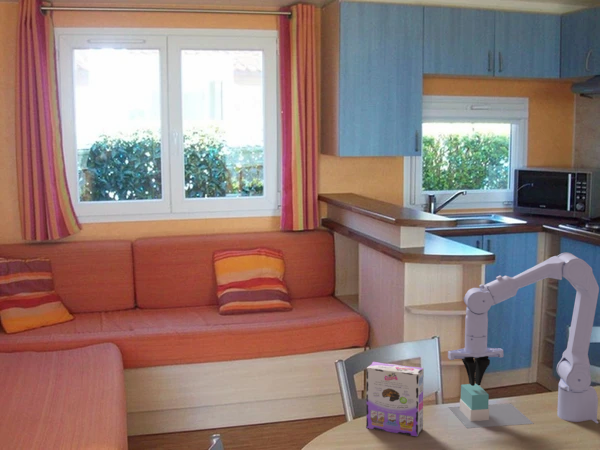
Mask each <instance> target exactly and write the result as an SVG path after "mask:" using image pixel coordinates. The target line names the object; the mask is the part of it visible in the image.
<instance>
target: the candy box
mask: <svg viewBox="0 0 600 450" xmlns="http://www.w3.org/2000/svg"><path fill="white" fill-rule="evenodd" d="M365 371H366V372H365V374H366V377H365V378H366V379H365V380H366V382H365V383H366V385H365V386H366V387H365V389H366V390H365V391H366V395H365V396H366V397H365V398H366V402H365V403H366V412H365V413H366V420H365V421H366V426H365V428H366V429H368V428H369V429H370V430H374V429H375V430H376V431H381V432H387V433H391V434H392V433H393V434H394V433H395V434H401V435H404V436H405V435H407V436H413V437H418V436H419V434H420V433H421V432H422V430H423V429H424V367H417V366H409V365H402V364H401V365H400V364H395V363H393V364H392V363H385V362H378V361H372V362H371V364H369V365H368V366H367V367H366V369H365Z"/></svg>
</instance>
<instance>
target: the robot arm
mask: <svg viewBox="0 0 600 450" xmlns="http://www.w3.org/2000/svg"><path fill="white" fill-rule="evenodd" d="M548 278H550V279H555V280H560V281H561V280H563V279H566V280H567V281H568V282H569V284H570V285H571V286H572V287H573V288H574V290H575V291H576V292H575V293H576V294H575V300H574V305H573V310H572V317H571V322H570V328H569V335H568V340H567V346H566V349H565V350H564V351H563V352H562V355H561V356H562V357H561V358H560V360H559V361H558V363H557V364H556V373H557V375H558V377H559V379H560V380H559V382H558V391H557V410H556V411H557V413H556V415H557V417H558V418H559V419H561V420H562V421H566V422H567V421H568V422H572V423H574V422H575V423H577V422H578V423H579V422H585V421H593V422H594V423H596V425H598V424H599V421H598V407H599V398H598V394H597V390H596V388H594V387H593V386H592V385H591V383H592V376H591V373H590V372H591V371H590V369H591V368H590V367H591V363H590V359H589V355H588V354H589V349H590V343H591V339H592V331H593V327H594V321H595V315H596V309H597V305H598V298H599V292H600V287H599V284H598V281H597V279H596V277H595V275H594V271H593V267H591V266H590V265H589V264H588V263H587V261H585V260H583V259H582V258H579V257H577V256H576V255H575V254H573V253H571V252H562V253H560V254H558V255H554V256H551V257H549V258H547V259H546V260H543V261H541V262H539V263H538V264H536V265H533V267H530V268H528V269H526V270H524V271H523V272H521V273H519V274H518V273H517V274H516V275H514V276H508V275H504V276H502V275H497V276H495V279H494V280H492V281H490V282H487V283H486V284H483V283H481V284H479V285H478V286H479V287H472V288H469V289H468V290H467V291H466V293H465V295H464V297H463V301H464V304H465V305H466V307H465V320H464V321H465V322H464V323H465V325H464V327H465V328H464V347H463V348H460V349H459V348H458V349H452V350H448V351H447V359H449V360H450V361H455V360H458V359H460V360H461V361H462V363H463V366H464V368H465V370H466V373H467V379H468V384H471V385H472V386H474V385H475V384H477V385H479V386H481V384H482V381H483V377H484V375H485V372H486V371H487V368H488V367H489V366H490V364H491V360H490V359H489V358H504V349H502V348H500V347H497V348H496V347H494V348H493V347H488V329H489V327H488V325H489V323H488V322H489V317H488V314H489V313H488V311H490V309H491V307H492V306H495V305H497V304H500V303H502V302H504V301H506V300H508V299H511V298H513V297H515V296H517V293H518V291H519V290H520V289H522V288H524V287H527V286H530V285H532V284H535V283H537V282H539V281H542V280H544V279H548Z"/></svg>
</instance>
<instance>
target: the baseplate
mask: <svg viewBox="0 0 600 450" xmlns="http://www.w3.org/2000/svg"><path fill="white" fill-rule="evenodd" d="M447 408H448V409H449V410H450V411H451V413H452V414H453V415H454V416H455V417H456V418H457V419H458V420H459V421H460V422H461V424H462V425H463V426H464V427H465V428H466V429H473V428H490V427H491V428H492V427H504V426H505V427H506V426H520V425H534V422H533V421H531V419H529V418H528V417H527V416H526V415H525V414H523V413H522V412H521V411H520V410H519V409H518V408H517V407H515V406H514V405H513V404H512V403H497V404H488V409H481V410H471V409H470V408H469V407H468V406H467V405H466V404H465V403H464V402H463V401H462V400H461V398H459V406H451V407H449V406H448V407H447Z"/></svg>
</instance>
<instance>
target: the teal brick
mask: <svg viewBox="0 0 600 450" xmlns="http://www.w3.org/2000/svg"><path fill="white" fill-rule="evenodd" d="M489 396H490V395H489V393H488V392H487V391H485V389H484V388H483V387H481V385H477V384H476V383H475V385H474V386H472V385H471V384H469V383H466V384H460V399H461V400H462V401H463V402H464V403H465V404H466V405H467V406H468V407H469V408H470V409H471V410H481V409H488V405H489Z"/></svg>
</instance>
